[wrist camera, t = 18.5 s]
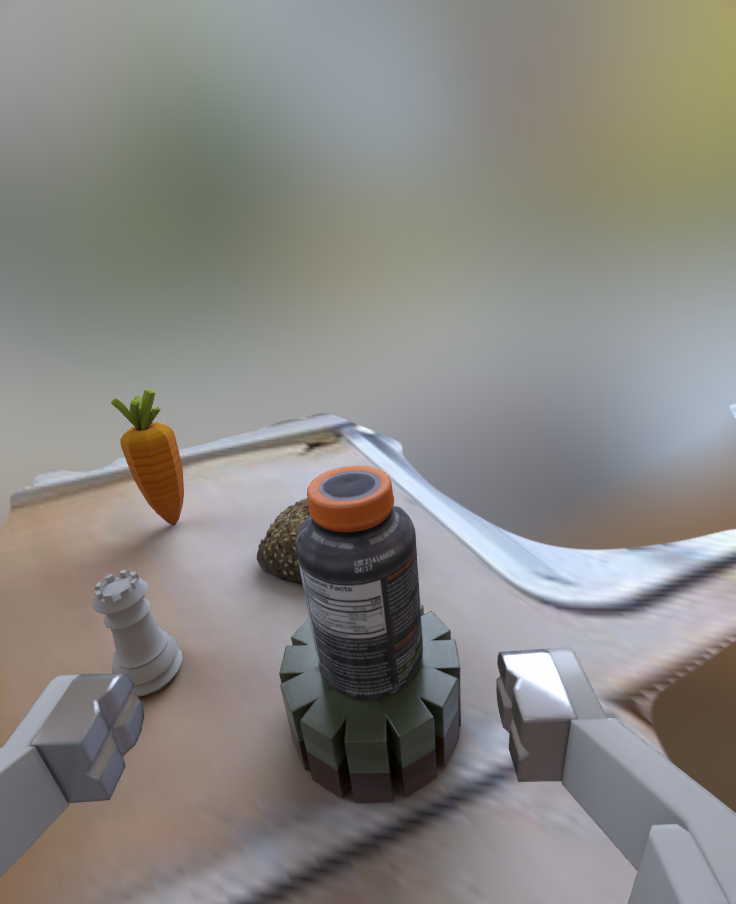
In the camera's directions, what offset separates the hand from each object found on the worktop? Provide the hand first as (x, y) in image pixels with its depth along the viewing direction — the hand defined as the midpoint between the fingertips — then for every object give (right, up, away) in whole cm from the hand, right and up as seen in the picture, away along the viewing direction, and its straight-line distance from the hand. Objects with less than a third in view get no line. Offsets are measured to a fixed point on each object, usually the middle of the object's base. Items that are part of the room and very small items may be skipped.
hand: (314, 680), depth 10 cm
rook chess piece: (-14, -11, +23) cm, 29 cm away
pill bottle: (+1, -7, +16) cm, 18 cm away
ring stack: (+2, -11, +18) cm, 21 cm away
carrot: (-20, -3, +41) cm, 45 cm away
